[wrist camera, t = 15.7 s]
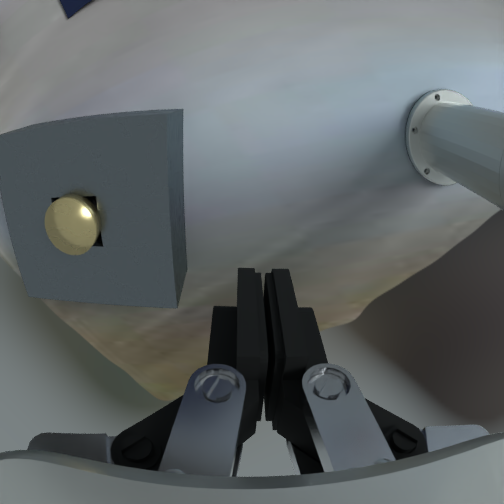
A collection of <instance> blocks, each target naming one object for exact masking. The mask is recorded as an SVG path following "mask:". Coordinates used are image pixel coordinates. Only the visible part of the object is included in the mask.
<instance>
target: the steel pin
mask: <svg viewBox="0 0 504 504" xmlns="http://www.w3.org/2000/svg"><path fill="white" fill-rule="evenodd" d="M45 229H46V233H47V235H48V237H49V239H50V241H51V242H52V243H53V245H54V246H55V247H56V248H58V249H59V250H60V251H62V252H64V253H66V254H69V255H81V254H84V253H85V252H87V251H88V250H89V249H90V248H91V247H92V246H93V244H94V243H95V242H96V241H97V239H98V237H99V235H100V231H101V220H100V216H99V214H98V208H97V200H96V196H81V195H78V194H66V195H63V196H61V197H60V198H59V199H57V200H56V201H54V202H53V203H52V204H51V205H50V206H49V207H48V209H47V211H46V214H45Z"/></svg>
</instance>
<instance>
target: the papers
mask: <svg viewBox="0 0 504 504" xmlns="http://www.w3.org/2000/svg"><path fill="white" fill-rule="evenodd" d="M60 1H61V4H62V6H63V8H64V10H65V12H66V14H67V17H68V18H69V17H71V16H72V15H73V14H74V13H75V12H77V11H78V10H79V9H80V8H82V7H83V6H84V5H85V4H87V3H88V2H90V1H92V0H60Z"/></svg>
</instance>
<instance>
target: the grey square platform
mask: <svg viewBox="0 0 504 504" xmlns="http://www.w3.org/2000/svg"><path fill="white" fill-rule="evenodd" d="M0 190H1V196H2V201H3V206H4V211H5V216H6V220H7V225H8V229H9V233H10V237H11V241H12V245H13V248H14V252H15V256H16V259H17V262H18V266H19V269H20V272H21V275H22V279H23V282H24V285H25V288H26V290H27V293H28V296H29V297H36V298H45V299H55V300H65V301H75V302H87V303H99V304H112V305H126V306H141V307H159V308H178V304H179V300H180V296H181V292H182V288H183V284H184V280H185V276H186V272H187V259H186V240H185V217H184V183H183V109H168V110H148V111H133V112H121V113H111V114H101V115H92V116H85V117H77V118H70V119H63V120H57V121H51V122H45V123H40V124H34V125H30V126H27V127H23V128H20V129H17V130H13V131H10V132H7V133H4V134H1V135H0ZM66 194H78V195H81V196H96V200H97V208H98V214H99V216H100V220H101V231H100V235H99V237H98V239H97V241H96V242H95V243H94V244H93V246H92V247H91V248H90V249H89V250H88V251H87V252H85V253H84V254H81V255H69V254H66V253H64V252H62V251H60V250H59V249H58V248H56V247H55V246H54V245H53V243H52V242H51V241H50V239H49V237H48V235H47V233H46V229H45V214H46V211H47V209H48V207H49V206H50V205H51V204H52V203H53V202H54V201H56V200H57V199H59V198H60V197H61V196H63V195H66Z"/></svg>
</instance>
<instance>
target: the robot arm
mask: <svg viewBox="0 0 504 504" xmlns="http://www.w3.org/2000/svg"><path fill="white" fill-rule="evenodd" d="M412 128H413V131H412ZM406 146H407V151H408V154H409V157H410V160H411V162H412V164H413V166H414V167H415V168H416V170H417V171H418V172H419V173H420V174H421V175H422V176H423V177H424V178H426V179H427V180H429V181H431V182H433V183H435V184H438V185H444V186H445V185H453V184H456V183H459V184H460V185H462V186H464V187H466V188H467V189H469V190H471V191H473V192H474V193H476V194H478V195H479V196H481V197H483V198H484V199H486V200H488V201H489V202H491V203H492V204H494V205H496V206H497V207H499V208H500V209H502V210H503V211H504V113H502V112H498V111H494V110H489V109H485V108H480V107H475V106H473V104H472V103H471V102H470V101H469V100H468V99H467V98H466V97H464V96H463V95H462V94H460V93H458V92H456V91H452V90H446V89H439V90H433V91H431V92H429V93H426V94H425V95H424V96H422V97H421V98H420V99H419V100H418V101H417V102H416V104H415V105H414V107H413V109H412V110H411V112H410V115H409V118H408V121H407V126H406ZM424 170H425V171H424ZM263 399H264V403H265V417H266V421H272V426H273V430H277V433H279V434H280V435H281V436H283V437H284V438H286V443H287V448H288V451H289V455H290V458H291V462H292V465H293V468H294V472H295V475H290V476H269V477H238V471H239V465H240V459H241V454H242V448H243V443H244V442H245V441H246V440H247V439H248V438H250V437H251V436H252V435H253V434H254V433H255V431H256V422H257V421H260V420H261V414H262V407H263ZM0 504H504V432H502V433H495V434H490V435H489V433H488V432H487V431H486V430H485V429H484V428H483V427H481V426H479V425H458V426H426V427H424V429H419V428H417V427H416V426H414V425H413V424H411V423H409V422H407V421H405V420H403V419H402V418H400V417H398V416H396V415H394V414H392V413H391V412H389V411H387V410H385V409H383V408H381V407H379V406H378V405H376V404H374V403H372V402H370V401H369V400H367V399H365V398H364V396H363V394H362V392H361V390H360V388H359V387H358V385H357V383H356V381H355V379H354V377H353V376H352V375H351V373H350V372H349V371H347V370H346V369H345V368H343V367H340V366H338V365H335V364H329V363H328V361H327V358H326V354H325V351H324V347H323V343H322V340H321V336H320V332H319V329H318V325H317V322H316V318H315V315H314V311H313V309H312V308H298V305H297V301H296V297H295V293H294V288H293V284H292V280H291V276H290V272H289V269H272V271H271V273H266V274H265V284H264V297H263V290H262V280H261V273H255V269H254V268H238V287H237V307H229V306H214V307H213V315H212V325H211V334H210V343H209V353H208V363H207V365H206V366H204V367H201V368H199V369H198V370H196V371H195V372H194V373H193V374H192V376H191V377H190V379H189V381H188V384H187V387H186V390H185V393H184V395H183V396H181V397H179V398H178V399H176V400H175V401H173V402H171V403H170V404H168V405H167V406H165V407H163V408H162V409H160V410H158V411H157V412H155V413H153V414H152V415H150V416H148V417H147V418H145V419H143V420H142V421H140V422H138V423H136V424H135V425H133V426H132V427H130V428H128V429H126V430H124V431H123V432H121V433H120V434H119V435H118V436H109V437H108V436H107V434H75V433H74V434H73V433H41V434H39V435H37V436H35V437H34V438H33V439H32V440H31V441H30V443H29V446H28V449H27V450H15V451H6V452H2V453H0Z"/></svg>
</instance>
